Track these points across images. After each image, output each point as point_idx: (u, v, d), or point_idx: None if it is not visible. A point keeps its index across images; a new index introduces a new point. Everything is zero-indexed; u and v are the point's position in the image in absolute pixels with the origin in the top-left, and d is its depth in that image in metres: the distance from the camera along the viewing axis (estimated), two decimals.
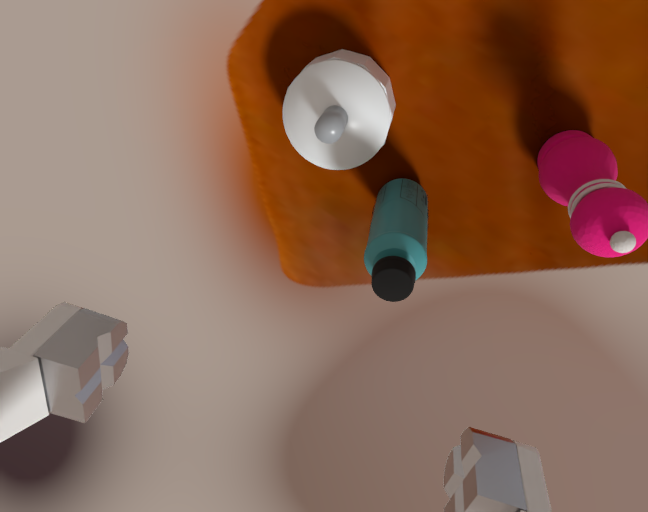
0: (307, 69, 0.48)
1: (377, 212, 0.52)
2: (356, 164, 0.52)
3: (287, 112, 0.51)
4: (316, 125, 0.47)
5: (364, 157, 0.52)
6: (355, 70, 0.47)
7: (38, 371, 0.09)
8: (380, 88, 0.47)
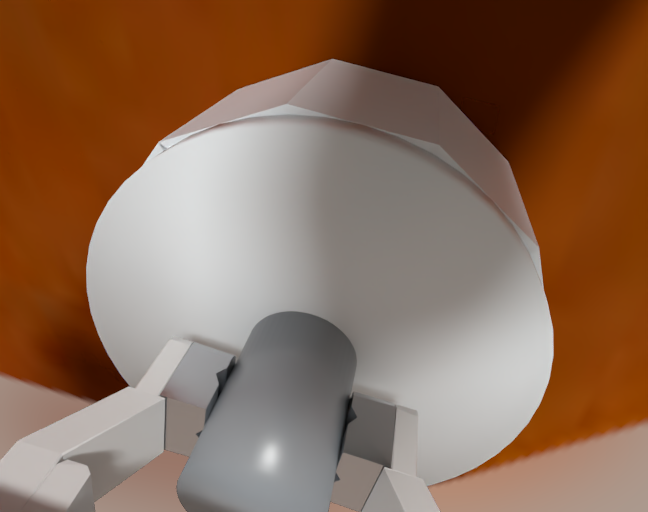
0: None
1: None
2: (454, 198, 0.09)
3: None
4: None
5: (389, 177, 0.09)
6: (118, 348, 0.13)
7: (163, 410, 0.09)
8: (92, 255, 0.11)
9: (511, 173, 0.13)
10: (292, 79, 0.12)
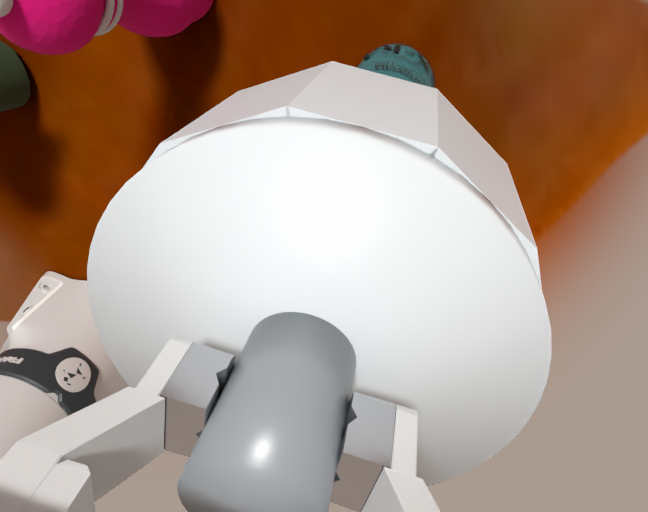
0: None
1: None
2: (452, 199, 0.09)
3: None
4: None
5: (388, 179, 0.09)
6: (119, 349, 0.13)
7: (163, 410, 0.09)
8: (93, 256, 0.12)
9: (509, 175, 0.13)
10: (292, 81, 0.12)
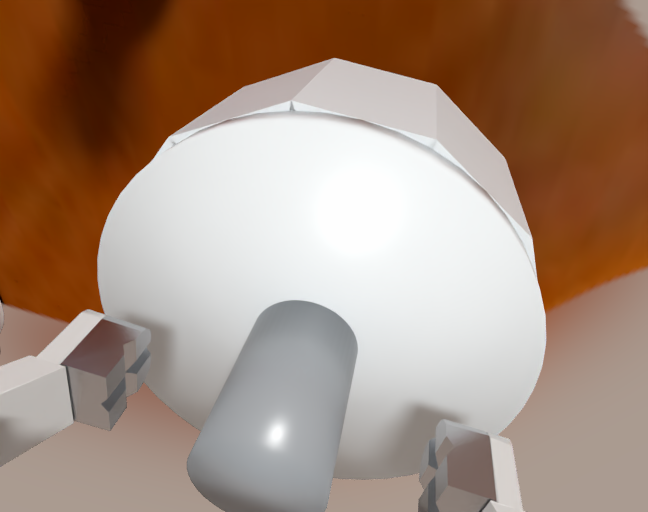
0: None
1: None
2: (450, 189, 0.09)
3: (382, 467, 0.14)
4: None
5: (388, 170, 0.09)
6: None
7: (65, 379, 0.09)
8: (103, 246, 0.12)
9: (507, 168, 0.14)
10: (295, 77, 0.13)
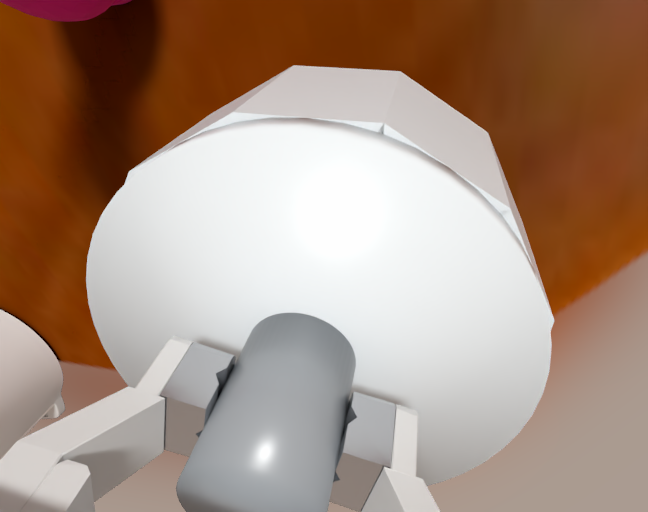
0: None
1: None
2: (405, 172, 0.09)
3: None
4: None
5: (337, 163, 0.09)
6: (134, 375, 0.14)
7: (163, 410, 0.09)
8: (91, 289, 0.12)
9: (489, 142, 0.13)
10: (253, 91, 0.13)
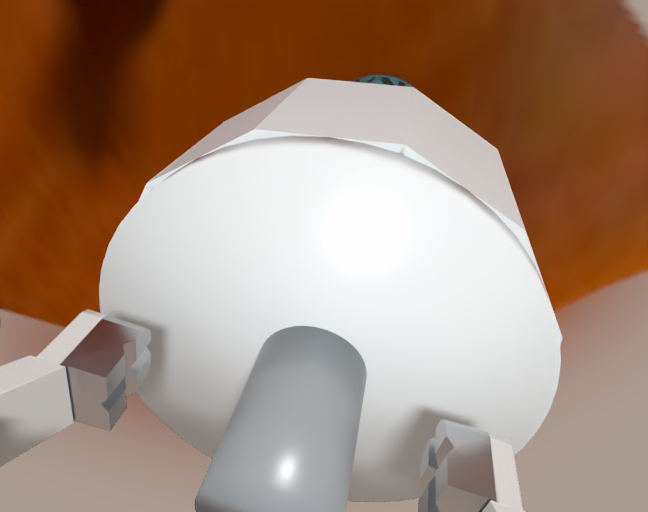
0: None
1: None
2: (425, 193, 0.09)
3: (416, 486, 0.14)
4: None
5: (358, 183, 0.09)
6: None
7: (65, 379, 0.09)
8: (103, 298, 0.12)
9: (499, 160, 0.13)
10: (268, 104, 0.13)
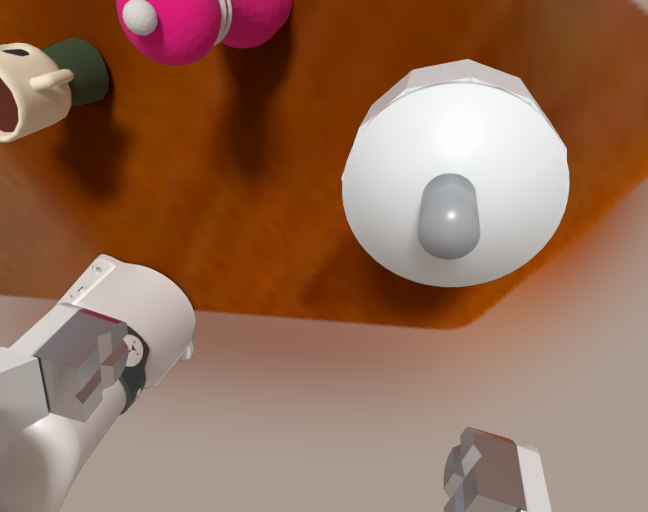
0: (429, 283, 0.28)
1: None
2: (484, 92, 0.22)
3: (516, 259, 0.26)
4: (461, 253, 0.22)
5: (455, 96, 0.22)
6: (363, 236, 0.27)
7: (38, 371, 0.09)
8: (344, 189, 0.26)
9: (520, 81, 0.26)
10: (399, 85, 0.27)
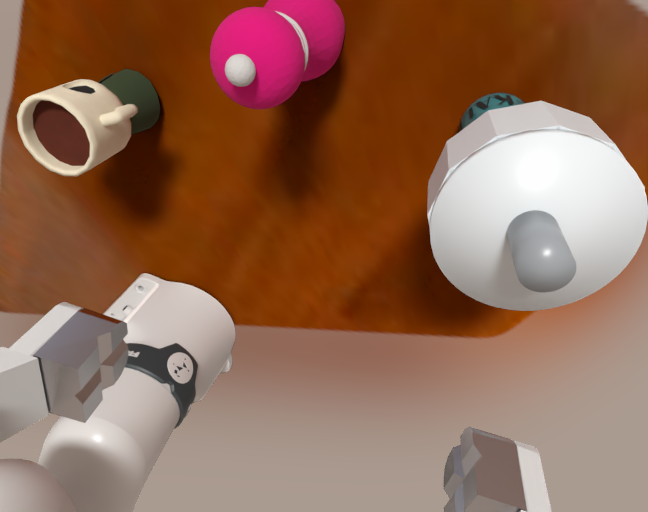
0: (507, 307, 0.30)
1: None
2: (573, 140, 0.24)
3: (591, 285, 0.28)
4: (556, 287, 0.24)
5: (546, 143, 0.24)
6: (447, 266, 0.29)
7: (38, 371, 0.09)
8: (432, 225, 0.28)
9: (593, 122, 0.28)
10: (479, 126, 0.29)
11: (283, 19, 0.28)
